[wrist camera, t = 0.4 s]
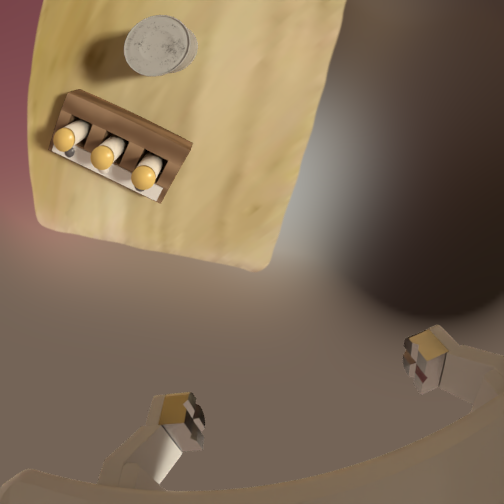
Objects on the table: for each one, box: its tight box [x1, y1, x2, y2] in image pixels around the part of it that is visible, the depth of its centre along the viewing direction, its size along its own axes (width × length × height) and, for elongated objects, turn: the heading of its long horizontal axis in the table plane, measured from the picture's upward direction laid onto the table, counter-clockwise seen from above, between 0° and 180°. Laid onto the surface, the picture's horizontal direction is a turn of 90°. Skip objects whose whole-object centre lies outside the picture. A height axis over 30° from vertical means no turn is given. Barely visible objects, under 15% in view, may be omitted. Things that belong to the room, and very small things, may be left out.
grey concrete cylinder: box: [124, 15, 198, 76], centre depth 36 cm, size 10×10×12 cm
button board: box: [48, 89, 193, 204], centre depth 48 cm, size 12×26×5 cm, turn 56°
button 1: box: [53, 119, 91, 152], centre depth 42 cm, size 4×4×8 cm
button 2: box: [131, 153, 163, 190], centre depth 48 cm, size 4×4×8 cm
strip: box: [52, 145, 163, 201], centre depth 48 cm, size 3×24×1 cm, turn 56°
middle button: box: [90, 135, 126, 170], centre depth 45 cm, size 4×4×8 cm
